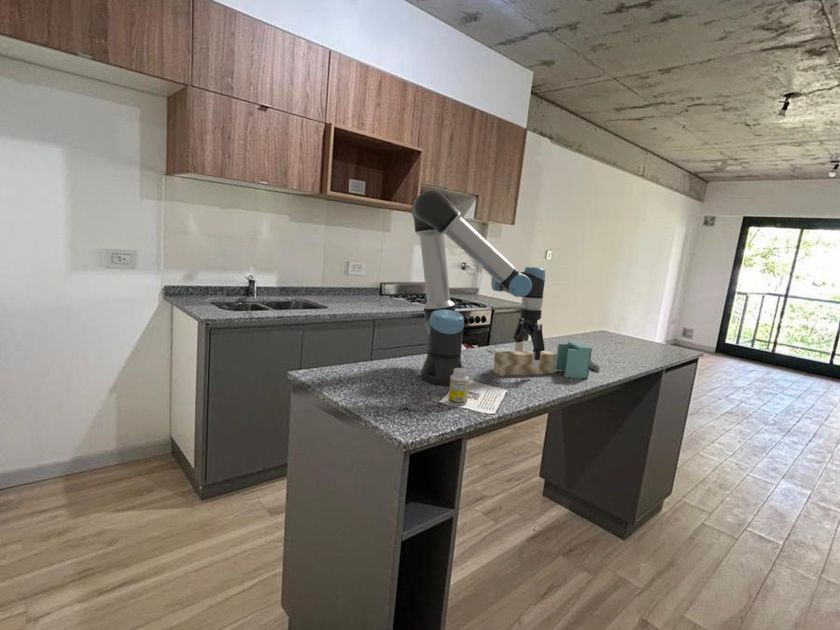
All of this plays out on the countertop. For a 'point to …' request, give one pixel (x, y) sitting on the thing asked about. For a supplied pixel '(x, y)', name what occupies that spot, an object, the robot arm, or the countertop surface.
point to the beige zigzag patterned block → (523, 363)
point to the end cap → (573, 359)
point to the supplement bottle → (458, 387)
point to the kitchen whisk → (593, 365)
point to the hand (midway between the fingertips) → (526, 363)
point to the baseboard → (500, 350)
